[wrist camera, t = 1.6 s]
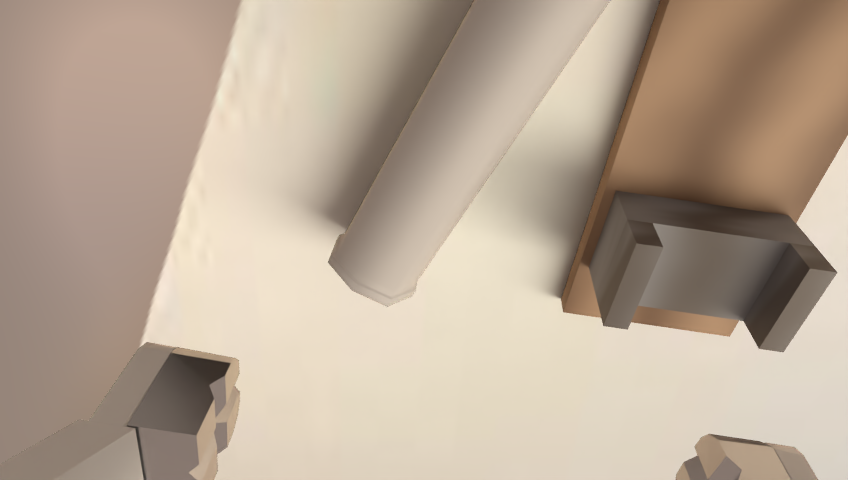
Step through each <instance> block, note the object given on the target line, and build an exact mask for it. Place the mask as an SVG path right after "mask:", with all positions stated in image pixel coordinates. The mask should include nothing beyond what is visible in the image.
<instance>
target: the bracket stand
mask: <svg viewBox="0 0 848 480" xmlns="http://www.w3.org/2000/svg"><path fill="white" fill-rule="evenodd" d="M847 135H848V0H660V2H659V5H658V8H657V11H656V14H655V17H654V20H653V23H652V26H651V29H650V33H649V36H648V39H647V42H646V45H645V48H644V51H643V54H642V57H641V60H640V63H639V66H638V69H637V72H636V75H635V78H634V81H633V84H632V87H631V90H630V93H629V96H628V99H627V102H626V105H625V108H624V111H623V114H622V117H621V120H620V123H619V126H618V129H617V132H616V135H615V138H614V141H613V144H612V147H611V150H610V153H609V156H608V159H607V162H606V165H605V168H604V171H603V174H602V177H601V180H600V183H599V186H598V189H597V192H596V196H595V199H594V202H593V205H592V208H591V211H590V214H589V217H588V220H587V223H586V226H585V229H584V232H583V235H582V238H581V241H580V244H579V247H578V250H577V253H576V256H575V259H574V262H573V265H572V268H571V271H570V274H569V277H568V280H567V283H566V286H565V289H564V292H563V295H562V298H561V301H562V307H563V312H566V313H573V314H579V315H586V316H593V317H600V318H602V322H603V326H608V327H615V328H621V329H628V327H629V325H630V323H631V322H634V323H641V324H648V325H654V326H661V327H668V328H675V329H682V330H689V331H695V332H702V333H709V334H716V335H723V336H730V335H731V333H732V332H733V330H734V328H735V327H736V325H737V323H738V321H739V320H740V321H744V323H745V324H746V326H747V328H748V330H749V332H750V333H751V335H752V337H753V339H754V341H755V342H756V344H757V346H758V348H759V349H765V350H772V351H778V352H784V351H785V349H786V348H787V346H788V345H789V343H790V342H791V340H792V339H793V337H794V336H795V334H796V333H797V331H798V330H799V328H800V327H801V325H802V324H803V322H804V321H805V319H806V318H807V317H808V315H809V314H810V312H811V311H812V309H813V308H814V306H815V305H816V303H817V302H818V300H819V299H820V297H821V296H822V294H823V293H824V291H825V290H826V288H827V287H828V285H829V284H830V283H831V281H832V280H833V278H834V277H835V275H836V274H837V272H836V270H835V269H834V268H833V267H832V266H831V265H830V263H829V262H828V261H827V260H826V259H825V257H824V256H823V255H822V254H821V253H820V252H819V250H818V249H817V248H816V247H815V246H814V244H813V243H812V242H811V241H810V240H809V239H808V237H807V236H806V235H805V234H804V233H803V231H802V230H801V229H800V228H799V227H798V226H797V224H796V222H797V221H798V219H799V217H800V216H801V214H802V212H803V210H804V209H805V207H806V205H807V204H808V202H809V200H810V198H811V197H812V195H813V193H814V192H815V190H816V188H817V186H818V185H819V183H820V181H821V180H822V178H823V176H824V175H825V173H826V171H827V169H828V168H829V166H830V164H831V163H832V161H833V159H834V157H835V156H836V154H837V152H838V151H839V149H840V147H841V145H842V144H843V142H844V140H845V139H846V137H847Z"/></svg>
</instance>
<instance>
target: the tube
mask: <svg viewBox="0 0 848 480" xmlns="http://www.w3.org/2000/svg"><path fill="white" fill-rule="evenodd" d="M609 2H610V0H474V1H473V3H472V5H471V6H470V8H469V10H468V12H467V14H466V15H465V17H464V19H463V21H462V23H461V25H460V26H459V28H458V30H457V32H456V34H455V35H454V37H453V39H452V41H451V43H450V44H449V46H448V48H447V50H446V52H445V53H444V55H443V57H442V59H441V61H440V63H439V64H438V66H437V68H436V70H435V72H434V73H433V75H432V77H431V79H430V81H429V82H428V84H427V86H426V88H425V90H424V91H423V93H422V95H421V97H420V99H419V101H418V102H417V104H416V106H415V108H414V110H413V111H412V113H411V115H410V117H409V119H408V120H407V122H406V124H405V126H404V128H403V129H402V131H401V133H400V135H399V137H398V139H397V140H396V142H395V144H394V146H393V148H392V149H391V151H390V153H389V155H388V157H387V158H386V160H385V162H384V164H383V166H382V167H381V169H380V171H379V173H378V175H377V177H376V178H375V180H374V182H373V184H372V186H371V187H370V189H369V191H368V193H367V195H366V196H365V198H364V200H363V202H362V204H361V206H360V207H359V209H358V211H357V213H356V215H355V216H354V218H353V220H352V222H351V224H350V225H349V227H348V229H347V231H346V232H345V234H341V235H339V237H338V239H337V240H336V243H335V245H334V248H333V251H332V253H331V256H330V258H329V261H328V263H329V264H330V265H331V267H332V268H333V269H334V270H335V271H336V272H337V274H338V275H339V276H340V277H341V278H342V279H343V281H344V282H345V283H346V284H347V285H348V286H349V288H350V289H351V290H352V291H354V292H356V293H359V294H361V295H363V296H365V297H367V298H370V299H372V300H374V301H376V302H378V303H380V304H383V305H385V306H387V307H388V306H390V305H393V304H395V303H397V302H400V301H402V300H404V299H407V298H409V297H411V296H413V294H414V292H415V291H416V285H417V281H418V279H419V278H420V276H421V275H422V273H423V272H424V271H425V269H426V268H427V266H428V265H429V263H430V262H431V260H432V259H433V258H434V256H435V255H436V253H437V252H438V250H439V249H440V247H441V246H442V244H443V243H444V242H445V240H446V239H447V237H448V236H449V234H450V233H451V231H452V230H453V228H454V227H455V226H456V224H457V223H458V221H459V220H460V218H461V217H462V215H463V214H464V212H465V211H466V210H467V208H468V207H469V205H470V204H471V202H472V201H473V199H474V198H475V197H476V195H477V194H478V192H479V191H480V189H481V188H482V186H483V185H484V183H485V182H486V181H487V179H488V178H489V176H490V175H491V173H492V172H493V170H494V169H495V167H496V166H497V165H498V163H499V162H500V160H501V159H502V157H503V156H504V154H505V153H506V151H507V150H508V149H509V147H510V146H511V144H512V143H513V141H514V140H515V138H516V137H517V136H518V134H519V133H520V131H521V130H522V128H523V127H524V125H525V124H526V122H527V121H528V120H529V118H530V117H531V115H532V114H533V112H534V111H535V109H536V108H537V106H538V105H539V104H540V102H541V101H542V99H543V98H544V96H545V95H546V93H547V92H548V90H549V89H550V88H551V86H552V85H553V83H554V82H555V80H556V79H557V77H558V76H559V74H560V73H561V72H562V70H563V69H564V67H565V66H566V64H567V63H568V61H569V60H570V59H571V57H572V56H573V54H574V53H575V51H576V50H577V48H578V47H579V45H580V44H581V43H582V41H583V40H584V38H585V37H586V35H587V34H588V32H589V31H590V29H591V28H592V27H593V25H594V24H595V22H596V21H597V19H598V18H599V16H600V15H601V13H602V12H603V11H604V9H605V8H606V6H607V5H608V3H609Z"/></svg>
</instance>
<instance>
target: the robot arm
mask: <svg viewBox="0 0 848 480" xmlns="http://www.w3.org/2000/svg"><path fill="white" fill-rule="evenodd" d="M239 374H240V373H239V360H238V359H236V358H232V357H227V356H222V355H216V354H211V353H206V352H200V351H195V350H190V349H184V348H179V347H171V346H166V345H160V344H155V343H149V342H147V343H145V344H144V345H143V346H141V347H140V348H139V349H138V350H137V351H136V353H135V354H134V356H133V357H132V358H131V360H130V361H129V363H128V364H127V366H126V367H125V369H124V370H123V372H122V373H121V374H120V376H119V377H118V379H117V380H116V382H115V383H114V385H113V386H112V387H111V389H110V390H109V392H108V393H107V395H106V396H105V398H104V399H103V401H102V402H101V404H100V405H99V406H98V408H97V409H96V411H95V412H94V414H93V415H92V417H91V418H90V419H89V421H87V420H77V421H75V422H74V423H72V424H70V425H68V426H66V427H65V428H63V429H61V430H59V431H58V432H56V433H54V434H53V435H51V436H49V437H47V438H45V439H44V440H42V441H40V442H38V443H36V444H35V445H33V446H31V447H29V448H28V449H26V450H24V451H22V452H21V453H19V454H17V455H15V456H14V457H12V458H10V459H8V460H7V461H5V462H3V463H1V464H0V480H214V479H215V476H216V474H217V471H218V463H217V454H218V453H220V452H221V451H222V450H224V449H225V448H227V447H228V444H229V442H230V439H231V437H232V434H233V431H234V428H235V424H236V420H237V416H238V411H239V403H240V392H239V390H238V389H237V388H236V387H235V386H234V385H235V383H236V381H237V378H238V376H239ZM695 450H696V453H697V456H696V457H694V458H692V459H690V460H687V461H685V462H684V463H683V464H682V466H681V467H680V469H679V471H678V472H677V474H676V480H818V479H817V477H816V475H815V474H814V472H813V470H812V469H811V467H810V465H809V464H808V462H807V460H806V459H805V457H804V455H803V454H802V453H801V452H800V451H798V450H797V449H796V448H795V447H790V446H784V445H777V444H771V443H762V442H760V441H753V440H747V439H740V438H733V437H727V436H720V435H713V434H707V435H705V436H703V437H701V438H700V440H699V441H698V442H697V444H696V445H695Z"/></svg>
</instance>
